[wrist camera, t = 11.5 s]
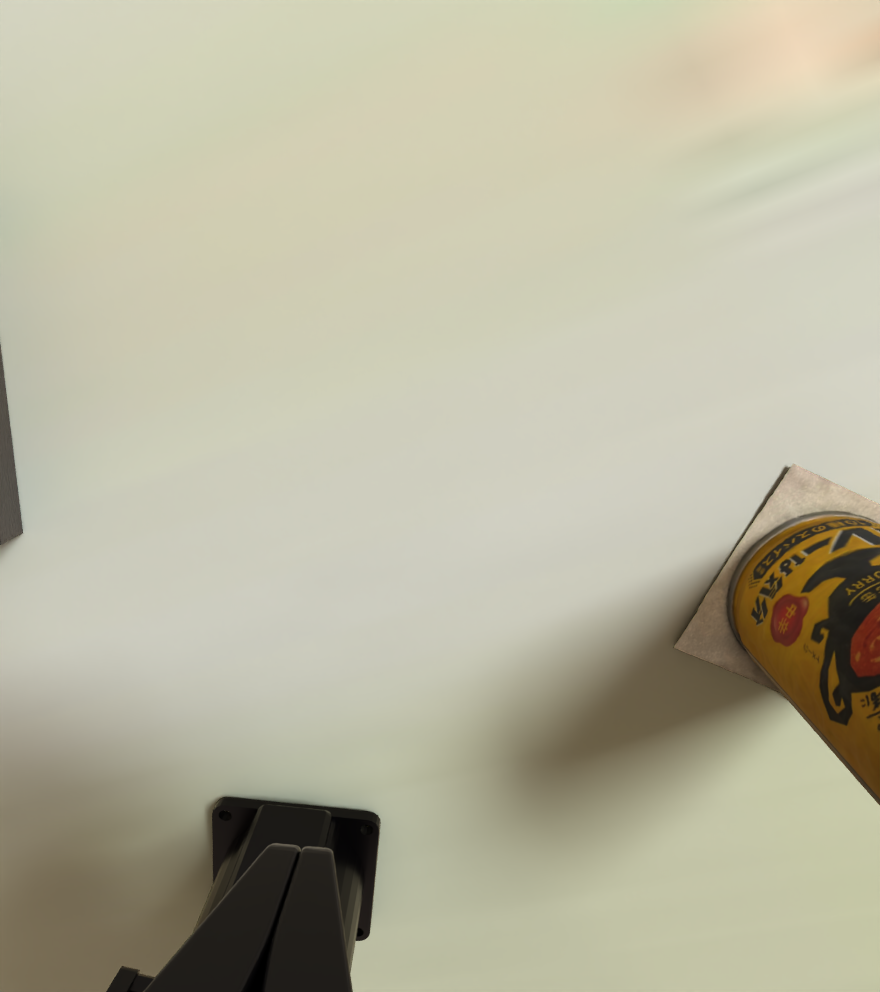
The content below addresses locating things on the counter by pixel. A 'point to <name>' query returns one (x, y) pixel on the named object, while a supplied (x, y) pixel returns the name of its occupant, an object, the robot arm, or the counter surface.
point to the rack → (7, 473)
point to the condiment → (806, 614)
